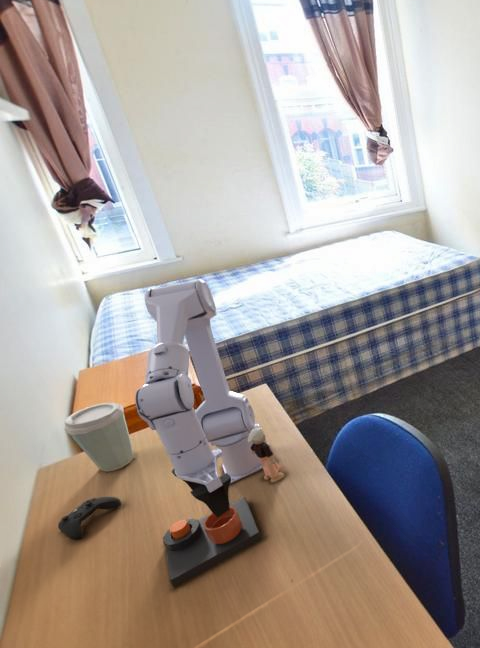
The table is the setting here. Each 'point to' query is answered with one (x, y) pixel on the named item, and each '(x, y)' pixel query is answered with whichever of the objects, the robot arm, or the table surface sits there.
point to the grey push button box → (206, 546)
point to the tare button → (179, 529)
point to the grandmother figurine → (264, 455)
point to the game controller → (85, 515)
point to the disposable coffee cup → (102, 435)
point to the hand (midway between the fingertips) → (214, 503)
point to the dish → (223, 526)
